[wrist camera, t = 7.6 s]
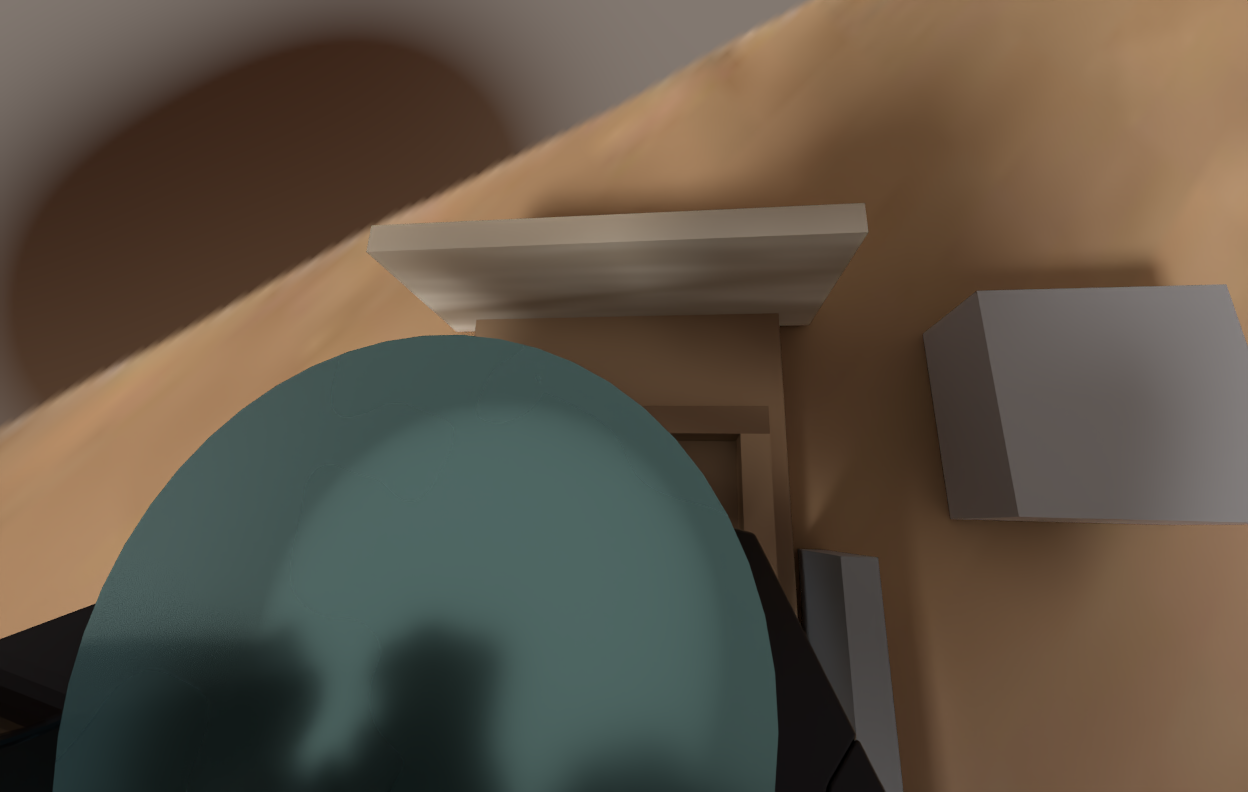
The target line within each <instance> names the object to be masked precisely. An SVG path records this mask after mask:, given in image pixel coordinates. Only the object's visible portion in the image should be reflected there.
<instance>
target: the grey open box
mask: <svg viewBox="0 0 1248 792" xmlns="http://www.w3.org/2000/svg"><path fill="white" fill-rule="evenodd" d="M798 558H799V573H800V589H801V604H802V619H803V630H804V632H805V634H806V636H807V638H808V640H809V642H810V644H811V646H812V648H813V650H814V652H815V654H816V656H817V658H818V660H819V662H820V664H821V666H822V668H823V670H824V672H825V673H826V675H827V677H828V679H829V681H830V683H831V685H832V687H833V689H834V691H835V693H836V695H837V697H838V699H839V701H840V703H841V705H842V707H843V709H844V711H845V713H846V715H847V717H848V719H849V721H850V723H851V725H852V727H853V729H854V731H855V733H856V738H855V740H858V741H860V742H861V744H862V746H863V748H864V750H865V752H866V754H867V756H868V758H869V760H870V762H871V764H872V766H873V768H874V770H875V772H876V774H877V776H878V778H879V780H880V782H881V784H882V785H883V787H884V789H885V791H886V792H903V784H902V774H901V765H900V756H899V747H898V737H897V728H896V719H895V710H894V700H893V691H892V682H891V672H890V663H889V654H888V645H887V635H886V626H885V617H884V608H883V598H882V589H881V580H880V570H879V561H878V557H871V556H864V555H858V554H851V553H844V552H837V551H830V550H816V549H798ZM855 740H854V741H855Z"/></svg>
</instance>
